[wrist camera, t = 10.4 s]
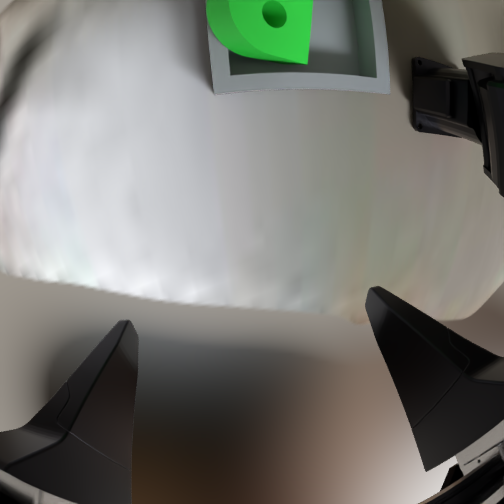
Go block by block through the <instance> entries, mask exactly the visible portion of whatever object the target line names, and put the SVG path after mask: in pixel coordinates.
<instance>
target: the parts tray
mask: <svg viewBox="0 0 504 504" xmlns="http://www.w3.org/2000/svg"><path fill="white" fill-rule="evenodd" d="M206 5H207V0H205V9H206ZM206 20H207V31H208V41H209V51H210V61H211V71H212V80H213V89H214V95H219V94H227V93H236V92H248V91H262V90H284V89H322V90H344V91H358V92H369V93H381V94H390V74H389V57H388V45H387V36H386V27H385V19H384V12H383V6H382V0H313V8H312V21H311V32H310V43H309V54H308V64H307V65H283V64H279V63H274V62H270V61H265V60H261V59H256V58H250V57H245V56H242V55H239V54H236V53H234V52H233V51H231V50H229V49H228V48H227V47H225V46H224V45H223V44H222V43H221V42H220V41H219V40H218V39H217V37H216V36H215V34H214V33H213V31H212V29H211V27H210V25H209V22H208V18H207V13H206Z"/></svg>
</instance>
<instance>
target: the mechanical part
mask: <svg viewBox="0 0 504 504" xmlns="http://www.w3.org/2000/svg"><path fill="white" fill-rule="evenodd" d="M312 8H313V0H207V5H206V13H207V18H208V22H209V25H210V27H211V29H212V31H213V33H214V34H215V36H216V37H217V39H218V40H219V41H220V42H221V43H222V44H223V45H224V46H225V47H227V48H228V49H229V50H231V51H233V52H234V53H236V54H239V55H242V56H245V57H250V58H256V59H261V60H265V61H270V62H274V63H279V64H283V65H307V64H308V54H309V43H310V32H311V21H312Z"/></svg>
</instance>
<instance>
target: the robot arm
mask: <svg viewBox="0 0 504 504" xmlns="http://www.w3.org/2000/svg"><path fill="white" fill-rule="evenodd" d="M417 61H418V62H419V65H418V63H417ZM462 62H463V65H464V66H465V67H466V70H464V69H454V68H452V67H449V66H446V65H443V64H440V63H437V62H434V61H431V60H428V59H424V58H421V57H414V58H413V59H412V68H413V128H414V129H415V130H416V131H418V132H424V133H432V134H440V135H447V136H453V137H459V138H465V139H468V140H470V141H473V142H475V143H478V144H480V145H482V147H483V156H484V165H483V167H484V173H485V174H486V175H487V176H488V177H489V178H490V179H491V180H492V181H493V182H494V183H495V185H496V186H497V187H498V188H499V193H500V195H501V196H502V197H504V53H488V54H482V55H477V56H472V57H467V58H462ZM418 124H419V125H420V126H419V128H418ZM365 308H366V311H367V314H368V317H369V320H370V323H371V326H372V329H373V332H374V336H375V338H376V341H377V344H378V346H379V348H380V351H381V353H382V355H383V358H384V360H385V362H386V364H387V367H388V369H389V372H390V374H391V377H392V379H393V381H394V384H395V386H396V389H397V391H398V394H399V396H400V399H401V402H402V404H403V407H404V409H405V412H406V415H407V418H408V420H409V423H410V426H411V428H412V432H413V435H414V438H415V441H416V444H417V447H418V450H419V453H420V456H421V459H422V462H423V465H424V469H425V471H426V472H427V471H429V470H431V469H433V468H434V467H436V466H438V465H440V464H441V463H443V462H444V461H446V460H448V459H450V458H451V457H453V456H456V459H457V461H458V463H457V464H455V465H454V466H452V467H451V468H449V471H448V473H447V476H446V478H445V481H444V483H443V485H442V488H441V490H440V492H438V493H437V494H435V495H433V496H431V497H430V498H428V499H426V500H424V501H423V502H420V503H418V504H504V357H500V356H497V355H495V354H493V353H491V352H489V351H487V350H486V349H484V348H482V347H480V346H478V345H476V344H474V343H472V342H471V341H469V340H467V339H465V338H463V337H462V336H460V335H459V334H457V333H455V332H454V331H452V330H451V329H449V328H447V327H446V326H444V325H443V324H441V323H439V322H438V321H436V320H435V319H433V318H431V317H430V316H428V315H427V314H425V313H423V312H422V311H420V310H419V309H417V308H415V307H414V306H412V305H410V304H409V303H407V302H405V301H404V300H402V299H400V298H399V297H397V296H395V295H394V294H392V293H390V292H389V291H387V290H385V289H384V288H382V287H380V286H376V287H371V288H370V289H369V290H368V294H367V299H366V303H365ZM138 342H139V339H138V334H137V332H136V330H135V328H134V326H133V324H132V323H131V321H130V320H120V321H118V322H117V324H116V325H115V326H114V327H113V328H112V329H111V330H110V331H109V333H108V334H107V335H106V336H105V337H104V338H103V339H102V340H101V342H99V344H98V345H97V346H96V347H95V348H94V349H93V351H92V352H91V353H90V354H89V355H88V356H87V357H86V358H85V360H84V361H83V362H82V363H81V364H80V365H79V367H78V368H77V369H76V370H75V371H74V372H73V374H72V375H71V376H70V377H69V378H68V380H67V381H66V382H65V383H64V384H63V385H62V387H61V388H60V389H59V390H58V391H57V392H56V394H55V395H54V396H53V397H52V398H51V399H50V400H49V401H48V403H46V404H45V406H44V407H43V408H42V409H41V410H40V411H39V412H38V413H37V414H36V415H35V416H34V417H33V418H32V419H31V420H30V421H29V422H28V423H27V424H25V425H24V426H22V427H20V428H18V429H14V430H9V431H4V432H0V504H132V502H131V455H132V434H133V419H134V407H135V396H136V386H137V378H138V344H139V343H138Z"/></svg>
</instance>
